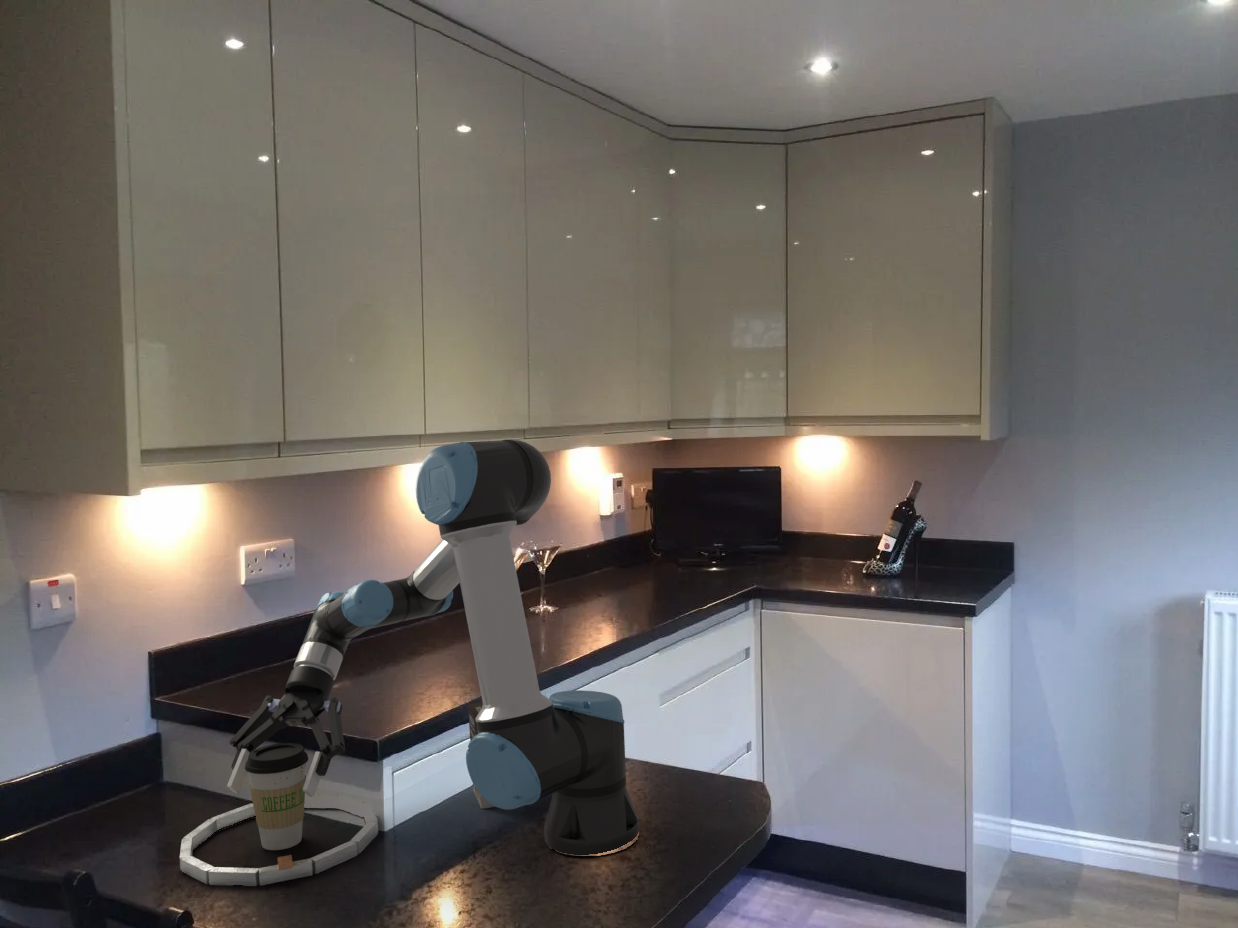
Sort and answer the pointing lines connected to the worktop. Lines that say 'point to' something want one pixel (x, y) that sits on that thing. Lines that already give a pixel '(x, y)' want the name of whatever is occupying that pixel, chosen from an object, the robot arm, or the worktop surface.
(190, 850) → the centring ring
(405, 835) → the worktop surface
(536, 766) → the robot arm
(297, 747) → the coffee cup
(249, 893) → the worktop surface
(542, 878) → the worktop surface
